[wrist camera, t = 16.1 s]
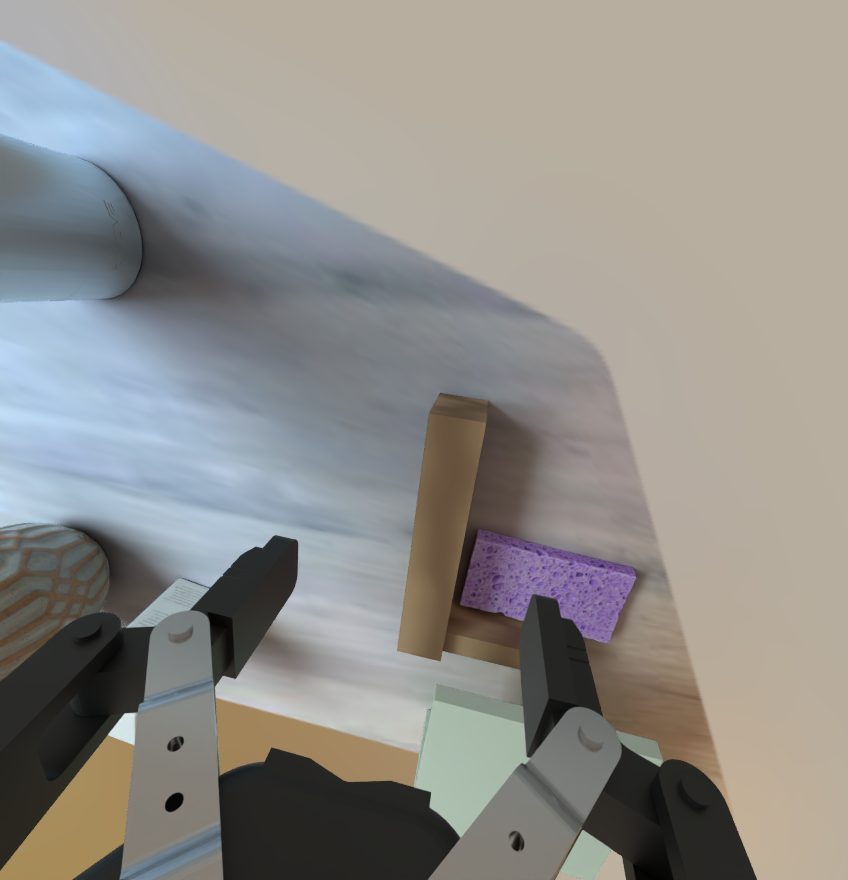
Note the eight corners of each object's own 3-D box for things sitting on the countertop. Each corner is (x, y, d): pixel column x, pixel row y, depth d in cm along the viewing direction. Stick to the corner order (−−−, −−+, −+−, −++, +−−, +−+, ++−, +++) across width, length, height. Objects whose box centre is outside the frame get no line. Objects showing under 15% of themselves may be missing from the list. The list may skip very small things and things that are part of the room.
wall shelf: (424, 722, 42) (406, 829, 34) (449, 604, 36) (434, 700, 28) (571, 761, 40) (590, 885, 32) (623, 645, 34) (663, 760, 26)
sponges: (477, 525, 33) (476, 538, 31) (634, 563, 32) (642, 579, 30) (460, 590, 36) (458, 606, 34) (604, 628, 35) (609, 646, 33)
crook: (409, 605, 37) (397, 650, 32) (440, 393, 29) (429, 413, 25) (561, 639, 35) (570, 692, 31) (633, 425, 28) (660, 453, 23)
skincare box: (178, 606, 42) (64, 720, 31) (180, 575, 40) (60, 684, 29) (231, 626, 42) (135, 749, 31) (235, 596, 40) (136, 714, 29)
